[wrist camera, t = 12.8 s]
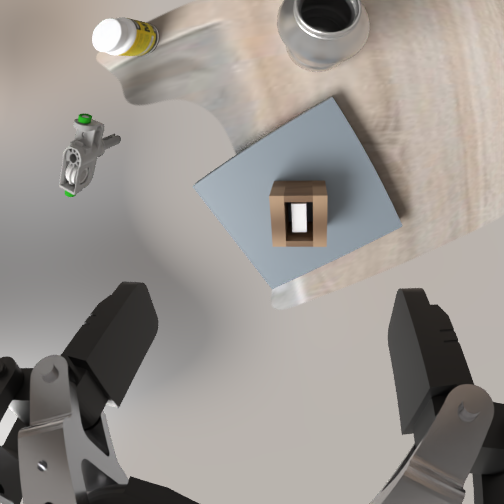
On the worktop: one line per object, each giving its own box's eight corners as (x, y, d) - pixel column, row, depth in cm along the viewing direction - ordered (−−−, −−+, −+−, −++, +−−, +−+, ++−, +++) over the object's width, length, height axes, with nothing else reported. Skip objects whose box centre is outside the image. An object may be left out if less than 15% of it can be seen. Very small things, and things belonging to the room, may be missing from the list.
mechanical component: (134, 108, 36) (89, 121, 27) (115, 174, 41) (74, 201, 33) (117, 102, 36) (70, 113, 27) (100, 166, 41) (57, 191, 33)
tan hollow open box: (273, 181, 36) (269, 196, 32) (325, 180, 35) (327, 195, 31) (276, 226, 39) (272, 246, 35) (324, 226, 38) (326, 246, 34)
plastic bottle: (275, 48, 30) (239, 12, 13) (313, 9, 27) (319, -61, 10) (318, 83, 31) (332, 84, 14) (356, 46, 28) (411, 11, 11)
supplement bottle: (166, 30, 30) (132, 22, 23) (148, 61, 32) (112, 61, 25) (138, 18, 29) (101, 10, 22) (121, 48, 32) (82, 47, 24)
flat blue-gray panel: (331, 96, 32) (335, 99, 27) (398, 219, 38) (411, 241, 33) (197, 181, 40) (181, 198, 35) (273, 280, 46) (268, 307, 41)
